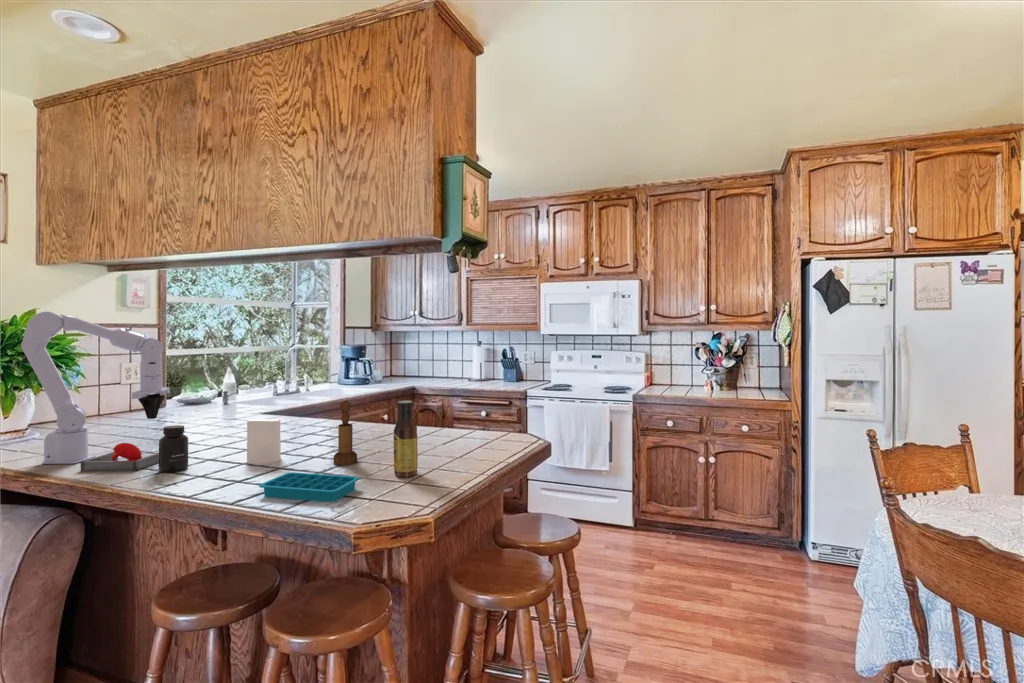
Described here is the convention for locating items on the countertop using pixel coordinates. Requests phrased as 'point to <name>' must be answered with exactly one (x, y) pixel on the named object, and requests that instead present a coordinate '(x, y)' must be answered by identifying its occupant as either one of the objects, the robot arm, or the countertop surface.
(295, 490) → the ice cube tray
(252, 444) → the cream upright block
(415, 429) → the sauce bottle
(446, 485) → the countertop surface
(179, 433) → the supplement bottle
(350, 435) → the brown wooden pepper mill
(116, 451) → the red curved piece
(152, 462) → the tray
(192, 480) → the countertop surface
